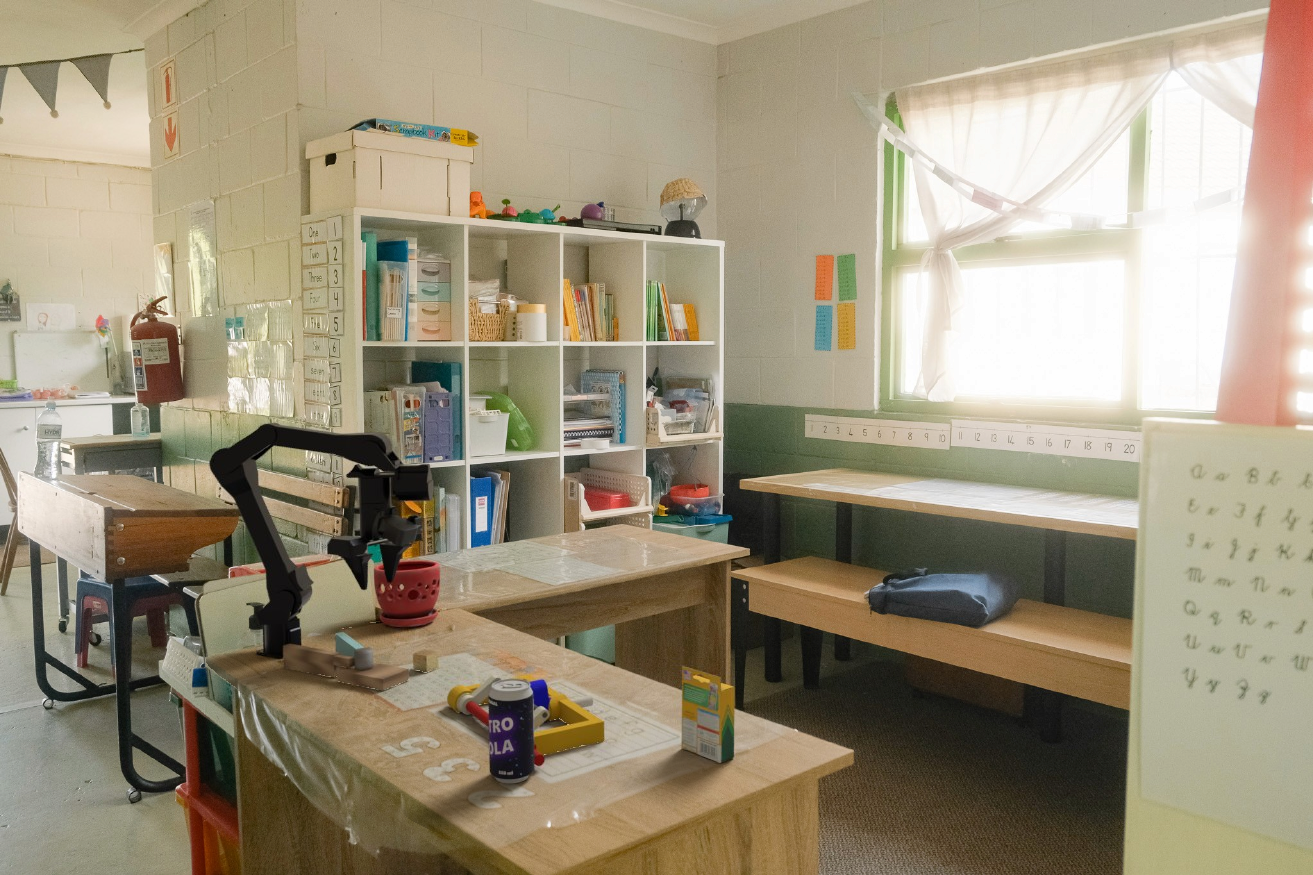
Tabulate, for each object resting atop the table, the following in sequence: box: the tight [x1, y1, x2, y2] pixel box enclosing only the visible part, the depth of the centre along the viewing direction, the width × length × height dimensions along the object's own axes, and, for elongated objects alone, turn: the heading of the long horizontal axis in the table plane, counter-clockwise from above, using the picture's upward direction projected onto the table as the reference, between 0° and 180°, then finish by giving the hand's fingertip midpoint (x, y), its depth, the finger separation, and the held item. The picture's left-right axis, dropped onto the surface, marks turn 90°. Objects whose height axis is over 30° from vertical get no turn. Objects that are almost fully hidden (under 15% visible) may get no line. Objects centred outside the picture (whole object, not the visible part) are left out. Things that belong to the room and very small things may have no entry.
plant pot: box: [373, 560, 441, 628], centre depth 200 cm, size 13×13×12 cm
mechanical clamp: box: [446, 674, 605, 767], centre depth 143 cm, size 18×6×30 cm
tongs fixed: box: [282, 644, 410, 691], centre depth 166 cm, size 24×6×5 cm, turn 62°
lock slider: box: [412, 648, 439, 673], centre depth 169 cm, size 3×3×3 cm
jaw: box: [334, 631, 365, 657], centre depth 172 cm, size 15×2×4 cm, turn 34°
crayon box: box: [681, 665, 736, 764], centre depth 132 cm, size 7×3×12 cm, turn 44°
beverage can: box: [487, 678, 536, 784], centre depth 125 cm, size 6×6×12 cm
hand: (377, 586), depth 180 cm, fingers open, 6 cm apart
